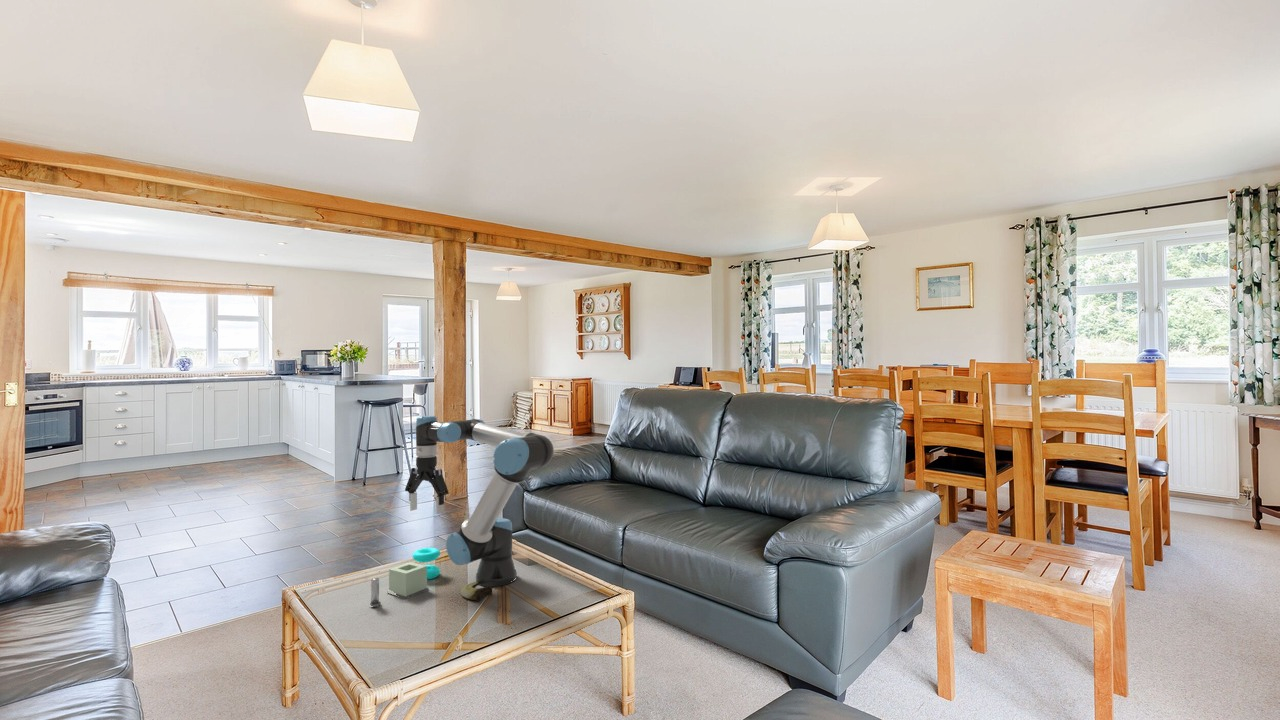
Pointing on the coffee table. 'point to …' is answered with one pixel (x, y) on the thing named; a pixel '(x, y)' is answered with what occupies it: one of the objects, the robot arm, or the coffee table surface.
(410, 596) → the mat
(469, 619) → the coffee table surface
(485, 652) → the coffee table surface
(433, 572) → the donuts
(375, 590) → the post stand
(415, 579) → the sage cube with slot
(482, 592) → the claw
